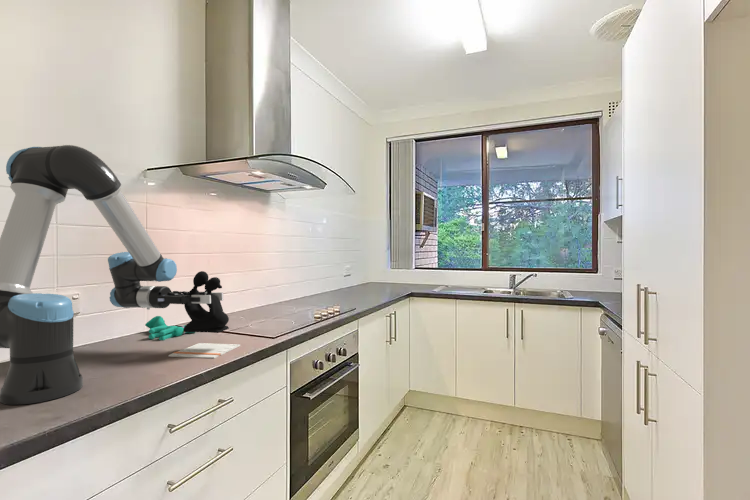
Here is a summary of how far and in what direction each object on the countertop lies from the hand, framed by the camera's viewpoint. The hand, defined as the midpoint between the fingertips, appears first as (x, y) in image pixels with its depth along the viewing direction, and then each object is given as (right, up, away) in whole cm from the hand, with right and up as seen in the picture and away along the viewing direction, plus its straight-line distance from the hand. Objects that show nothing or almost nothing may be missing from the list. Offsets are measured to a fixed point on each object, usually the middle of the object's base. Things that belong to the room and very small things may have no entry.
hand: (216, 297), depth 133 cm
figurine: (-3, -11, +1) cm, 12 cm away
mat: (-3, -18, 0) cm, 18 cm away
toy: (-30, -18, +26) cm, 44 cm away
